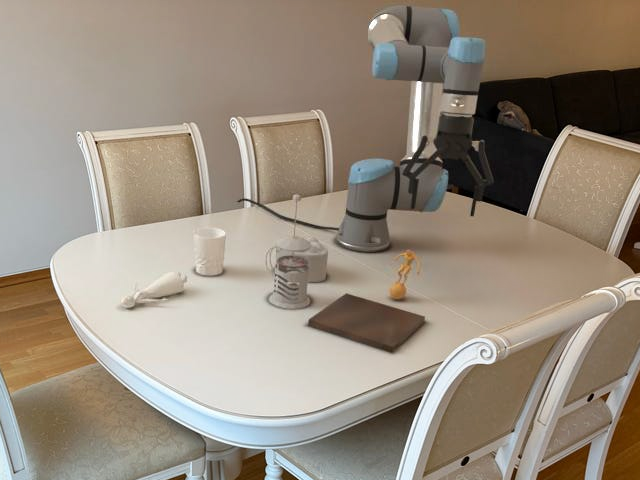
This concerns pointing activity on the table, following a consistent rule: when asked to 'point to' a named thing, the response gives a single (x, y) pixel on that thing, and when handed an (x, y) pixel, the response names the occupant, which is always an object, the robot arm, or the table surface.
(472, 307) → the table surface
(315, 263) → the lumpy-topped squat cylinder
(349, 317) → the walnut board
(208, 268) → the white cup
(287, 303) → the french press
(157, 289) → the woman figurine
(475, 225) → the table surface
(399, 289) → the figurine
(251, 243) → the table surface
